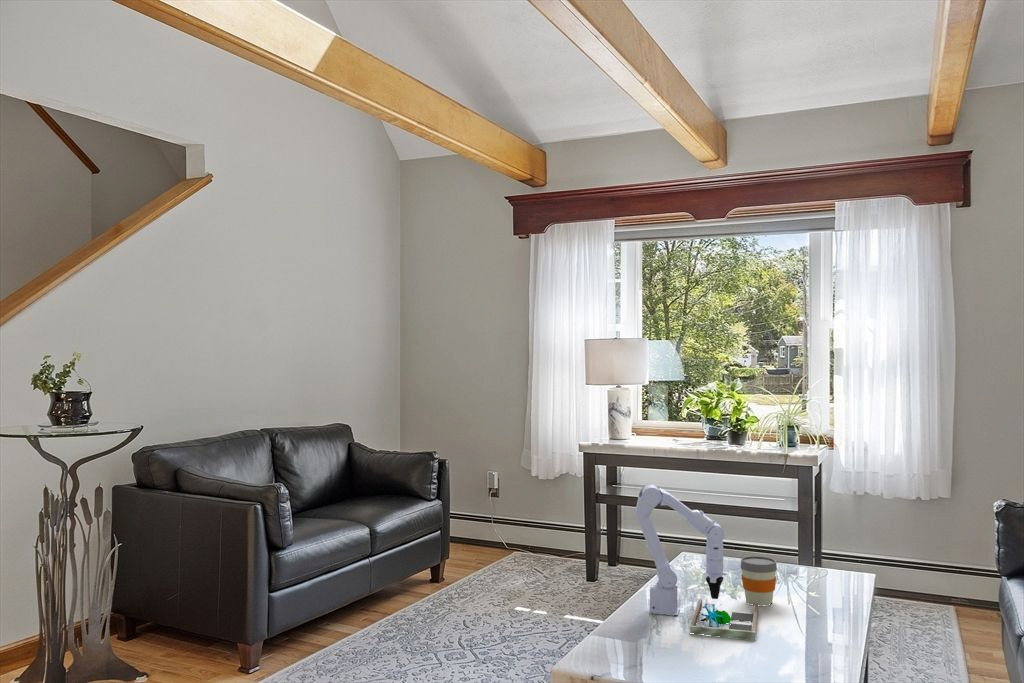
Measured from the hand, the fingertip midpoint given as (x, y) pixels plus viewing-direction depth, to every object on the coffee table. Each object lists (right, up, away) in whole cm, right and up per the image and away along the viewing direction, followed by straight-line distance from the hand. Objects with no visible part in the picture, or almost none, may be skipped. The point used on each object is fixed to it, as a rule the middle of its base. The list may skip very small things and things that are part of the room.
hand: (714, 598), depth 285 cm
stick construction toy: (-3, -5, -11) cm, 13 cm away
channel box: (+1, -5, -10) cm, 11 cm away
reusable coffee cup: (+18, -5, +11) cm, 22 cm away
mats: (+6, -5, -11) cm, 14 cm away
